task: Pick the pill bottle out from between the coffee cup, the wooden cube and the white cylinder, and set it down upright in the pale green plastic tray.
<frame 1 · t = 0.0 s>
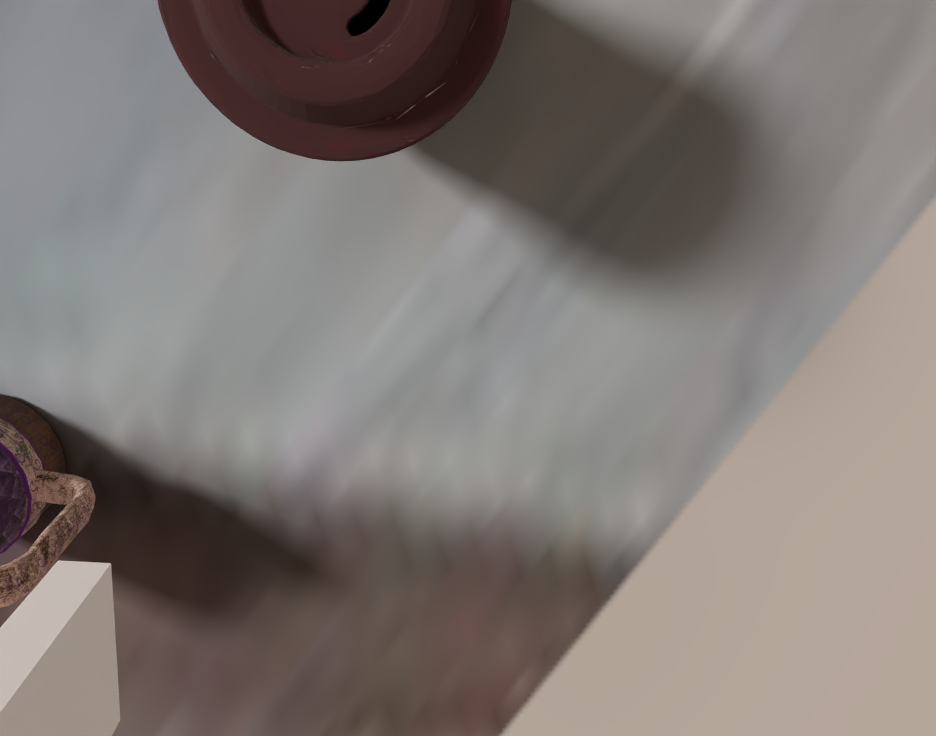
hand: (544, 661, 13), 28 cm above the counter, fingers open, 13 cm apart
mug: (31, 458, 42), on the counter
coffee cup: (374, 22, 37), on the counter
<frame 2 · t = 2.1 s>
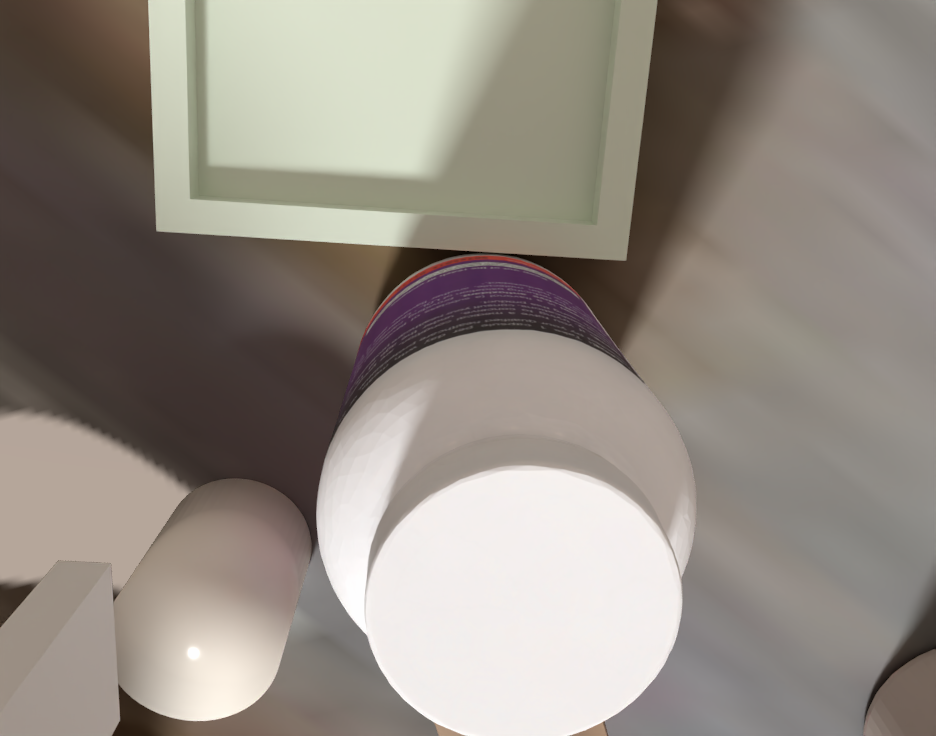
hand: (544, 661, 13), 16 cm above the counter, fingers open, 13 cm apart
pill bottle: (481, 367, 29), on the counter
white cylinder: (239, 544, 30), on the counter
wooden cube: (514, 653, 32), on the counter
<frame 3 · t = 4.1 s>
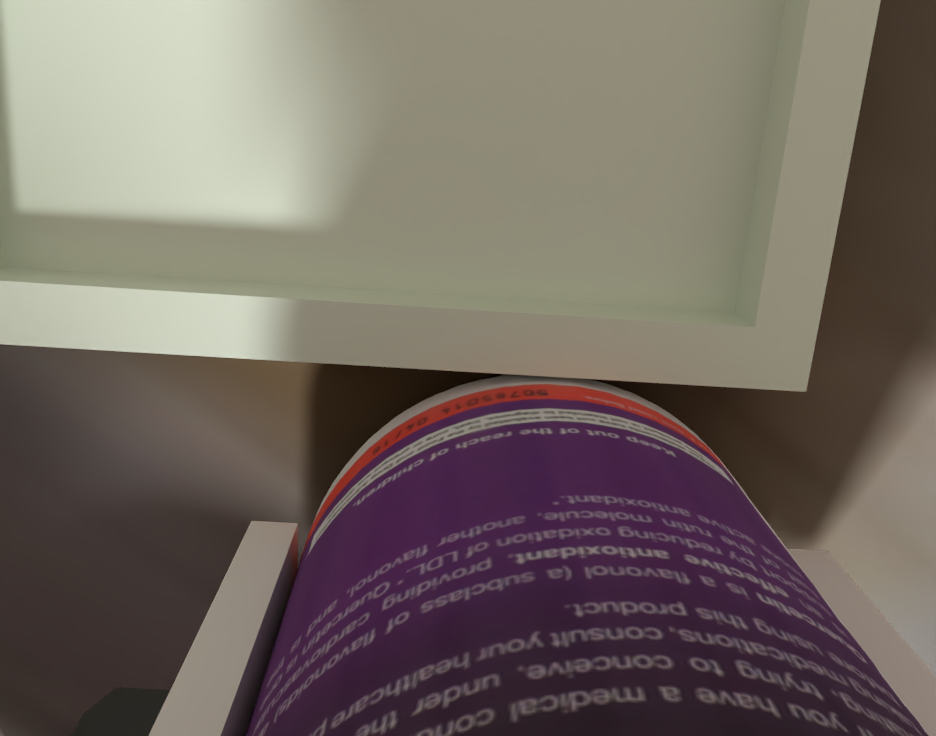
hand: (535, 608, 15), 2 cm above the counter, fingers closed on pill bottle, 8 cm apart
pill bottle: (526, 556, 16), on the counter, touching gripper
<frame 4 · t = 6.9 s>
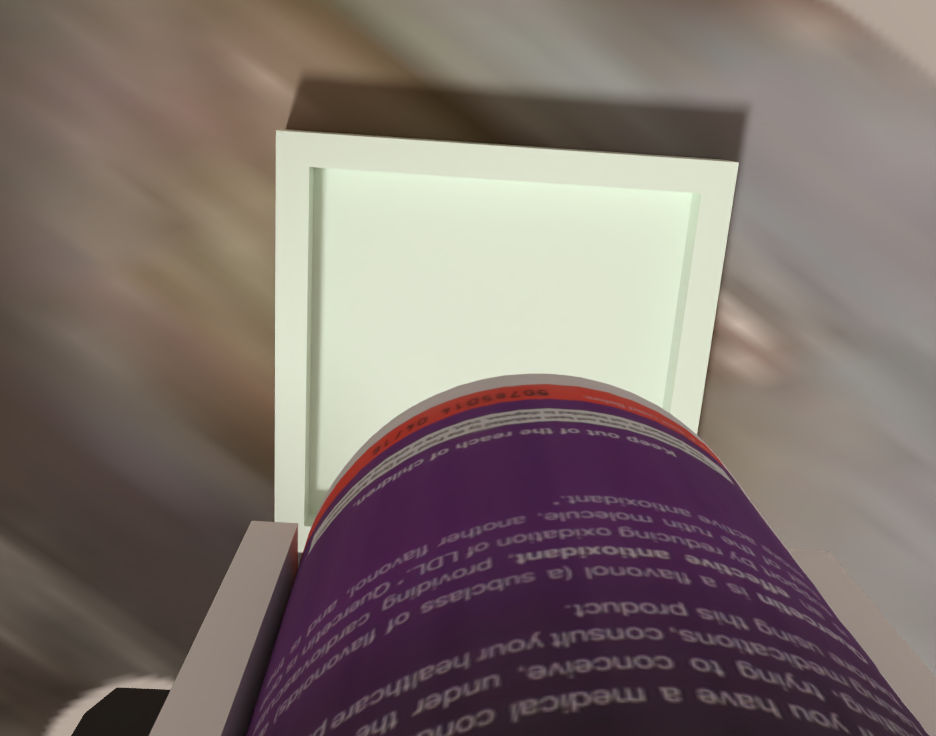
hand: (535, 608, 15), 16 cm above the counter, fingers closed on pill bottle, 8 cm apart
pill bottle: (526, 556, 16), point 14 cm above the counter, touching gripper
tray: (490, 355, 29), on the counter
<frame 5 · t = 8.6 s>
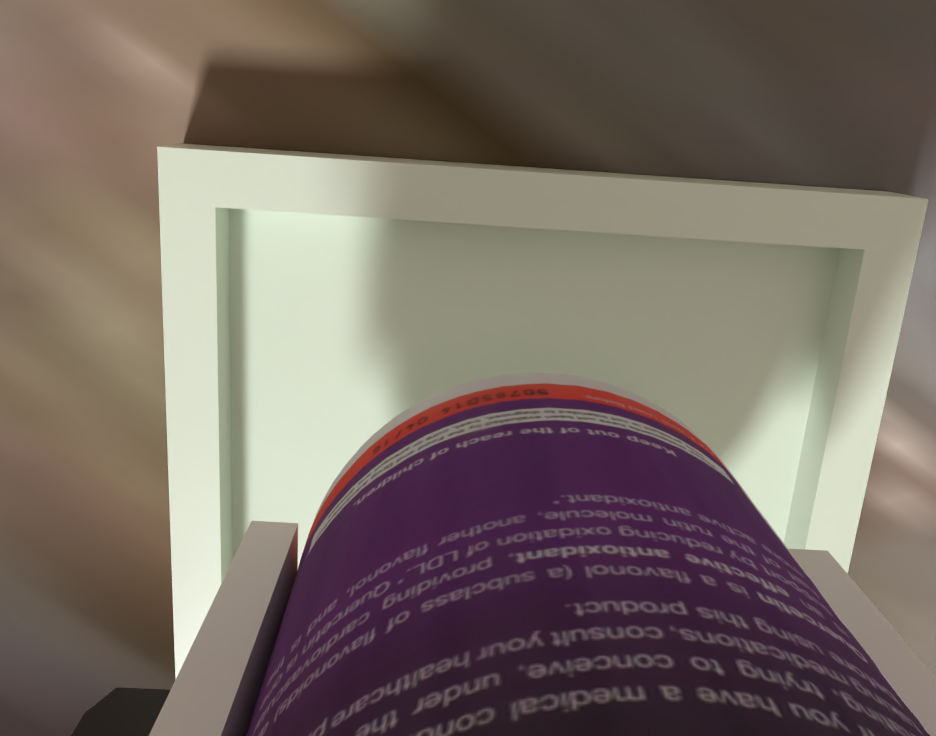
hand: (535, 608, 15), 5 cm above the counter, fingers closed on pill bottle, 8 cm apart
pill bottle: (526, 556, 16), point 3 cm above the counter, touching gripper
tray: (512, 492, 19), on the counter
when the fingers open (4 cm above the counter, at t = 9.7 s): pill bottle drops 1 cm, resting on tray.
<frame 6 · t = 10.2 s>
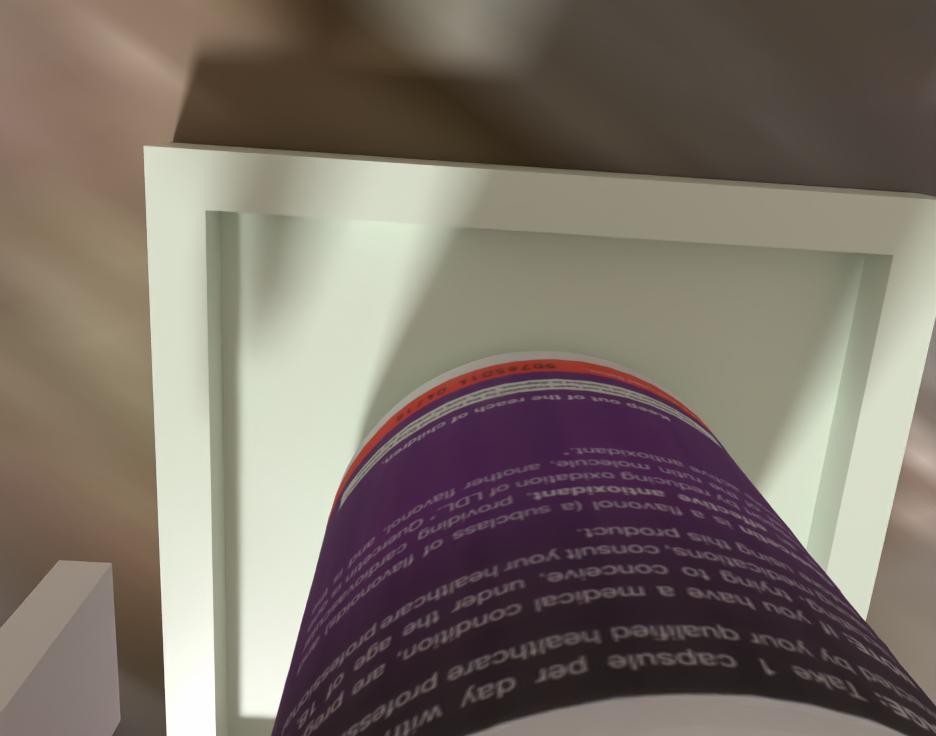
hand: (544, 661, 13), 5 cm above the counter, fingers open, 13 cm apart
pill bottle: (531, 521, 18), resting on tray
tray: (518, 508, 18), on the counter
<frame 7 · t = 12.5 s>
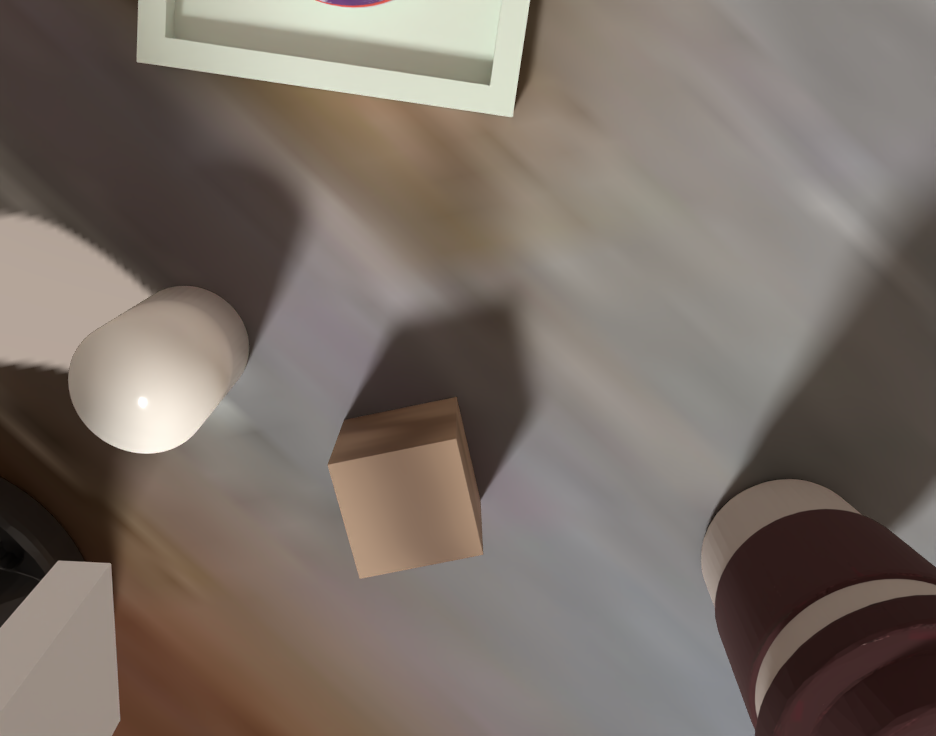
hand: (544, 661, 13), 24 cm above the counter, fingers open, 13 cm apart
coffee cup: (775, 545, 40), on the counter
white cylinder: (189, 343, 36), on the counter
wooden cube: (413, 459, 38), on the counter
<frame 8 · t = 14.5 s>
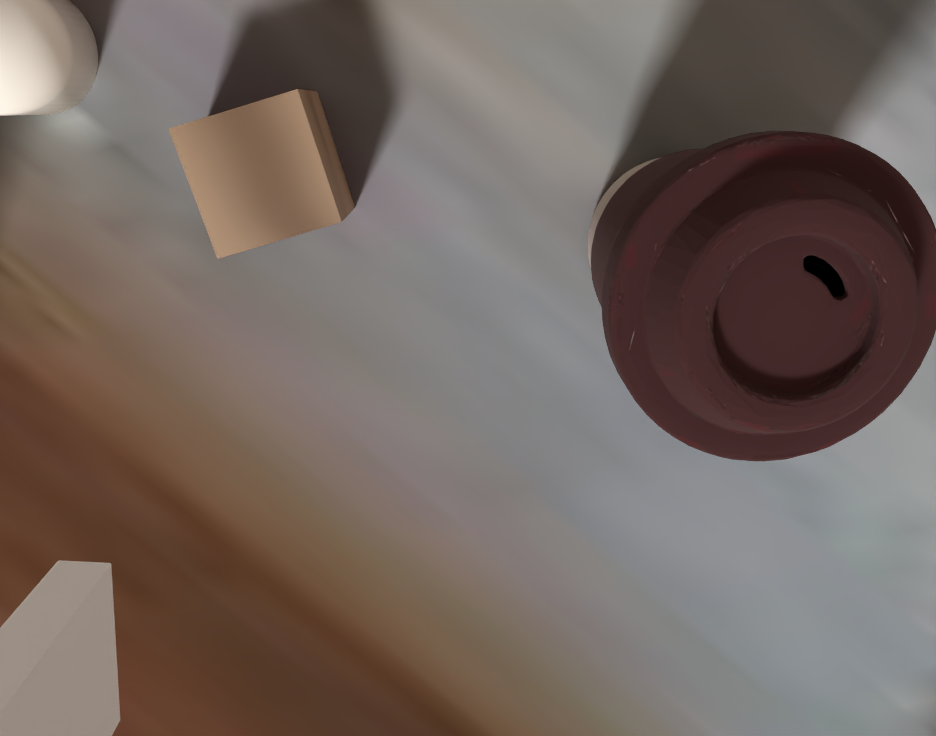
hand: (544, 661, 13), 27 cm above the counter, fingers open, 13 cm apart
coffee cup: (666, 239, 38), on the counter
white cylinder: (36, 51, 35), on the counter
wooden cube: (281, 167, 37), on the counter
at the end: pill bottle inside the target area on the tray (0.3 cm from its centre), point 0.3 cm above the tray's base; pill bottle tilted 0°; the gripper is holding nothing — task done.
